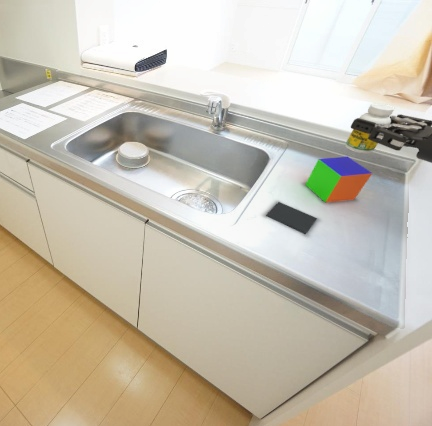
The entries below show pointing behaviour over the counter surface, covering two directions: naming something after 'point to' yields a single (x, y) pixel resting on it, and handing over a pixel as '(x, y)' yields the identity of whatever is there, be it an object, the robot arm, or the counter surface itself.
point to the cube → (337, 179)
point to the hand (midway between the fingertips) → (360, 119)
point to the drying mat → (291, 217)
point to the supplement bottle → (360, 139)
